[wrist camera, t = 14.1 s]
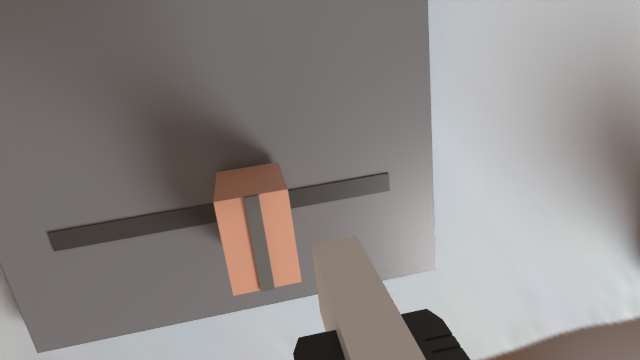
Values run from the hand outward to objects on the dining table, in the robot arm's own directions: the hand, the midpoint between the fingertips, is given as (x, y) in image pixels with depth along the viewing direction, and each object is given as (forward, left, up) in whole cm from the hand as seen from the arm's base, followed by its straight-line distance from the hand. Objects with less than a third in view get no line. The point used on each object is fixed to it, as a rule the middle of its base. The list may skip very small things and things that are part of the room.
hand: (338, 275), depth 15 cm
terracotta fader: (+1, -2, -8) cm, 9 cm away
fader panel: (-6, -4, -11) cm, 13 cm away
